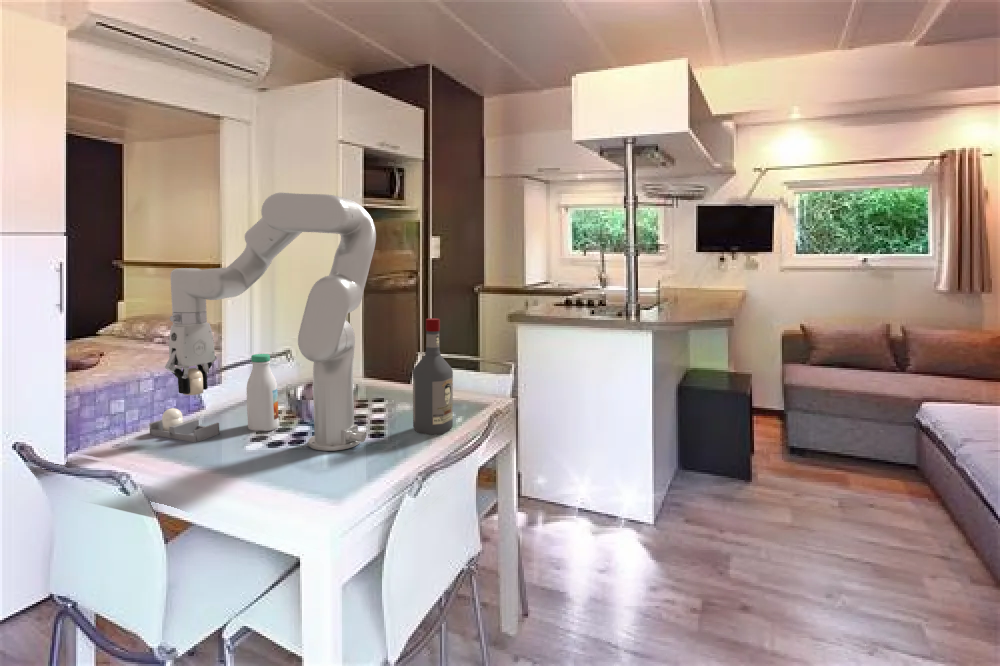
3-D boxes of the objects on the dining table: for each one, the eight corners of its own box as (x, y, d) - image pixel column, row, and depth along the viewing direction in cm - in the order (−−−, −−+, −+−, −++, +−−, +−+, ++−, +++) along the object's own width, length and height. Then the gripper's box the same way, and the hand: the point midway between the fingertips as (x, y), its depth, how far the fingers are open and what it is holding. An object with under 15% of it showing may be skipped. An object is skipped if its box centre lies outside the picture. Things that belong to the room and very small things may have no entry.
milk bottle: (268, 433, 159) (265, 358, 156) (241, 431, 160) (238, 356, 158) (284, 425, 166) (281, 353, 164) (259, 423, 168) (256, 351, 165)
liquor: (409, 431, 162) (408, 319, 158) (427, 423, 170) (427, 316, 166) (438, 436, 158) (438, 322, 154) (456, 427, 166) (456, 318, 162)
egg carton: (219, 436, 156) (219, 422, 156) (195, 444, 149) (195, 430, 149) (175, 428, 162) (174, 416, 161) (150, 436, 155) (149, 423, 154)
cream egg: (187, 430, 158) (186, 407, 157) (172, 435, 154) (170, 411, 153) (174, 428, 160) (172, 405, 159) (158, 433, 155) (157, 409, 155)
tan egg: (207, 391, 154) (206, 367, 153) (192, 395, 149) (191, 370, 149) (193, 389, 155) (192, 365, 154) (178, 393, 151) (177, 368, 150)
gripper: (171, 323, 141) (175, 400, 143) (228, 316, 156) (230, 386, 159) (148, 321, 143) (152, 396, 146) (206, 314, 159) (208, 383, 161)
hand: (193, 390), depth 152 cm, fingers closed on tan egg, 4 cm apart
